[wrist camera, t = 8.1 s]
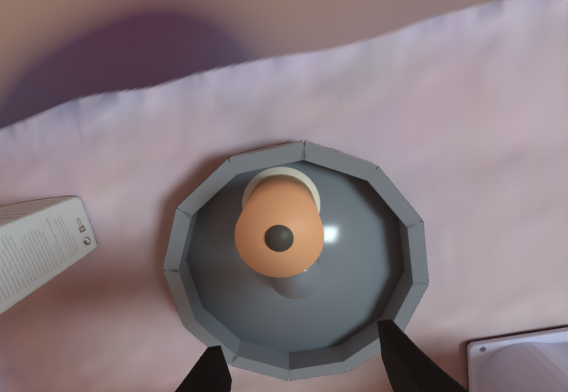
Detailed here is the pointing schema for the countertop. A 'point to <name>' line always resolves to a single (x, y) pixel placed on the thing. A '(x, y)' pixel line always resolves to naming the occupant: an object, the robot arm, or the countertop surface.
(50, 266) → the skincare box
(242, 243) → the bead
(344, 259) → the groove tray
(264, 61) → the countertop surface
